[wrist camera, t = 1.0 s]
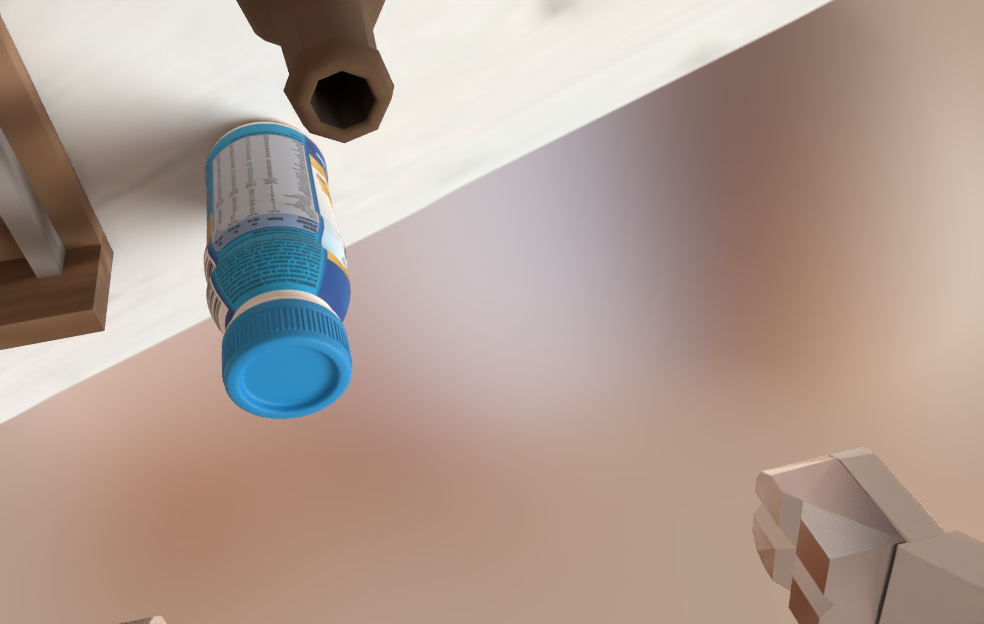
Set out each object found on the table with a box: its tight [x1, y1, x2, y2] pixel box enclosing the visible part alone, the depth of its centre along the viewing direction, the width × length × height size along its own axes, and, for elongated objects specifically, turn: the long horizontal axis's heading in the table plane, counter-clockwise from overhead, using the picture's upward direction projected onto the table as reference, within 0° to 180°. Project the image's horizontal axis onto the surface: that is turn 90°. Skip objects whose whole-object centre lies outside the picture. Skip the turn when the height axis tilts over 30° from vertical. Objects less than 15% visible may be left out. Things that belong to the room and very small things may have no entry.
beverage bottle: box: [204, 121, 352, 419], centre depth 48 cm, size 8×8×20 cm
